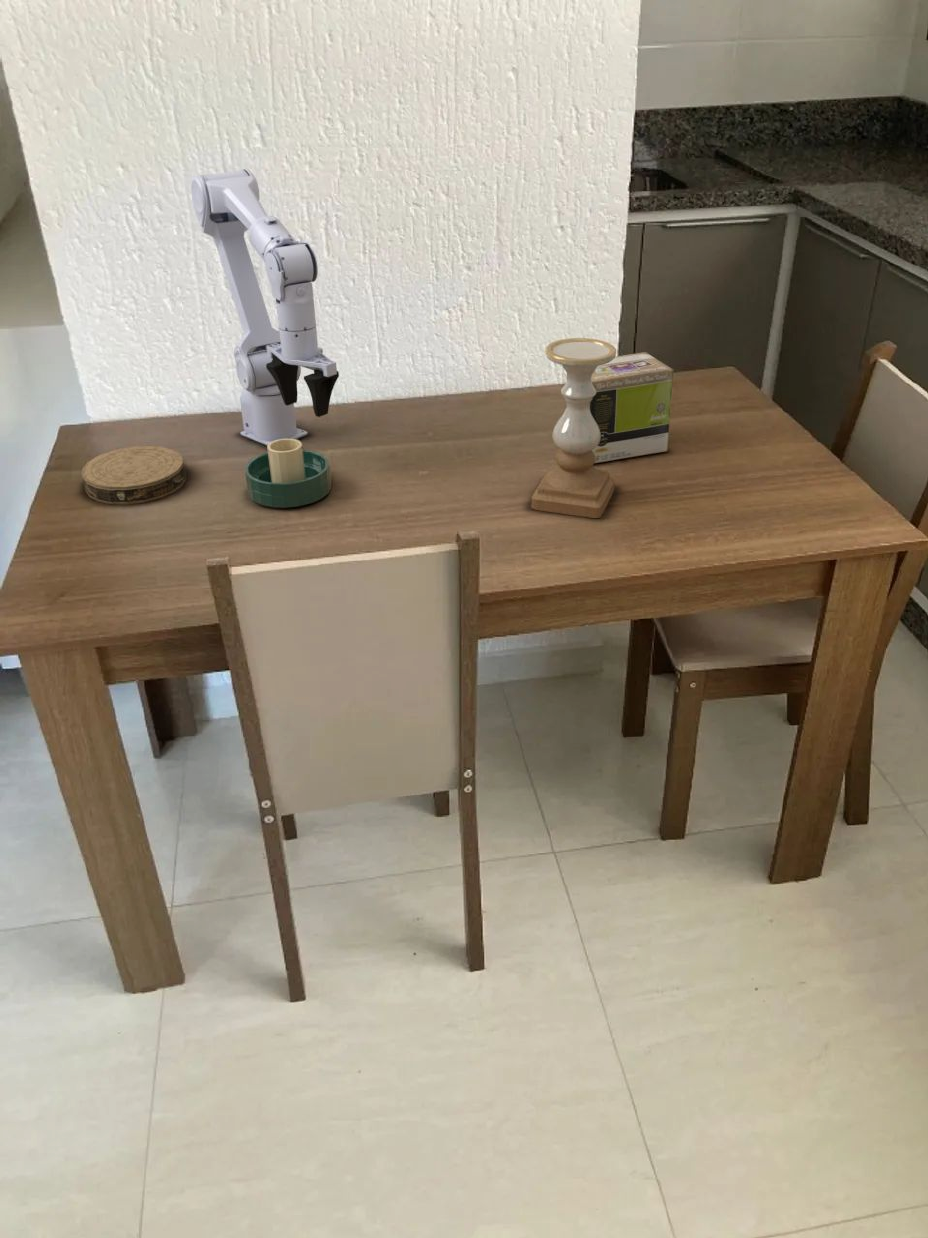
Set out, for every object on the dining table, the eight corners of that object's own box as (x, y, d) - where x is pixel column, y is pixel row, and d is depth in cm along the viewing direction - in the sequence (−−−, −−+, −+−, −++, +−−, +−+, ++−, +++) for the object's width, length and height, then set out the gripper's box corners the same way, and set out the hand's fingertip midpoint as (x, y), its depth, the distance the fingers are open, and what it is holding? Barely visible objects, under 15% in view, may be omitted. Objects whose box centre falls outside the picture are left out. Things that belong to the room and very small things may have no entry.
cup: (266, 488, 163) (260, 445, 159) (293, 478, 166) (288, 435, 162) (285, 499, 159) (280, 455, 155) (313, 488, 162) (308, 444, 158)
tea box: (641, 431, 181) (648, 349, 173) (667, 453, 173) (676, 368, 165) (562, 443, 177) (566, 360, 169) (586, 466, 169) (591, 380, 161)
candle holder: (615, 488, 162) (626, 340, 149) (599, 519, 153) (610, 364, 140) (548, 479, 165) (553, 333, 152) (529, 509, 157) (533, 356, 143)
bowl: (232, 494, 162) (228, 468, 160) (294, 467, 170) (291, 442, 168) (285, 518, 155) (281, 491, 153) (347, 489, 163) (345, 463, 161)
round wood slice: (96, 464, 172) (92, 448, 171) (191, 459, 174) (188, 443, 172) (76, 507, 159) (71, 490, 158) (179, 501, 160) (176, 484, 159)
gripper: (348, 328, 157) (354, 412, 164) (287, 311, 165) (295, 391, 172) (313, 340, 152) (321, 425, 160) (252, 321, 160) (263, 403, 168)
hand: (306, 409), depth 166 cm, fingers open, 7 cm apart
